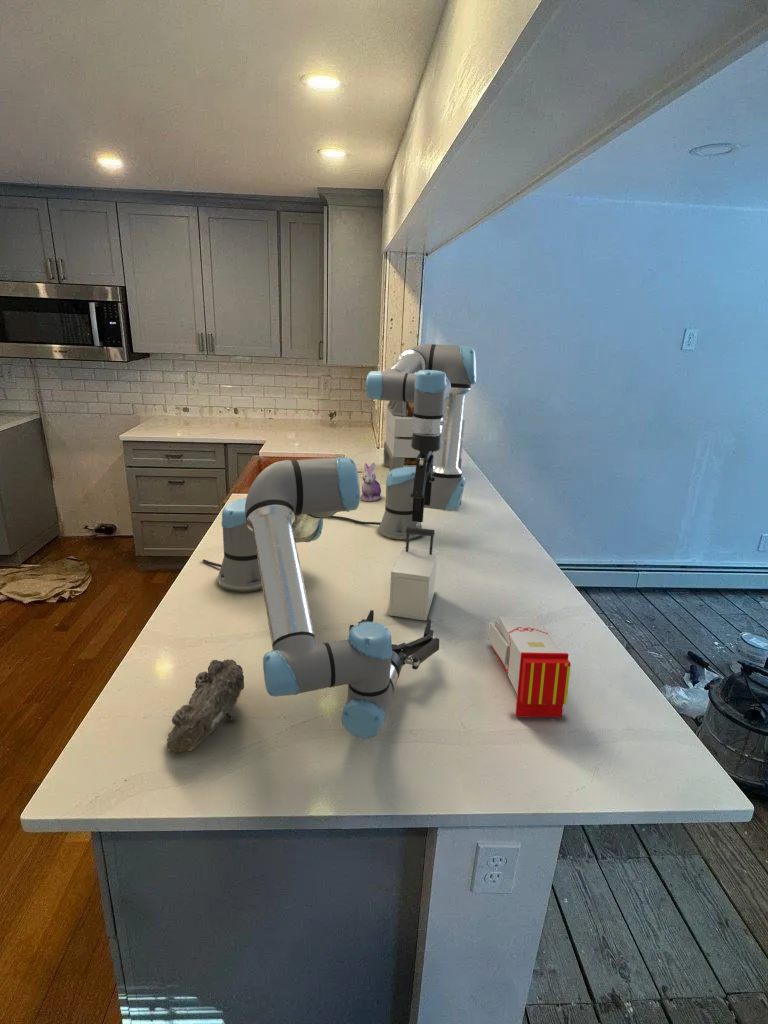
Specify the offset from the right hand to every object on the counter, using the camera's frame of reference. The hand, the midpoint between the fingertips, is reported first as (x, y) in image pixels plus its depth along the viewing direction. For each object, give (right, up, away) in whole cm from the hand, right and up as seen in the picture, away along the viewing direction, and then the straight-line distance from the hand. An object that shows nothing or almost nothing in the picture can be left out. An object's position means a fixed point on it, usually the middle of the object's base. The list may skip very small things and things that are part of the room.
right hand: (421, 512), depth 150 cm
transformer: (+7, +19, +125) cm, 126 cm away
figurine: (-15, +6, +85) cm, 87 cm away
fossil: (-43, -39, -42) cm, 71 cm away
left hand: (-6, -25, -18) cm, 31 cm away
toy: (+20, -36, -26) cm, 48 cm away
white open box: (-2, -25, +3) cm, 25 cm away
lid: (-2, -14, -1) cm, 14 cm away
